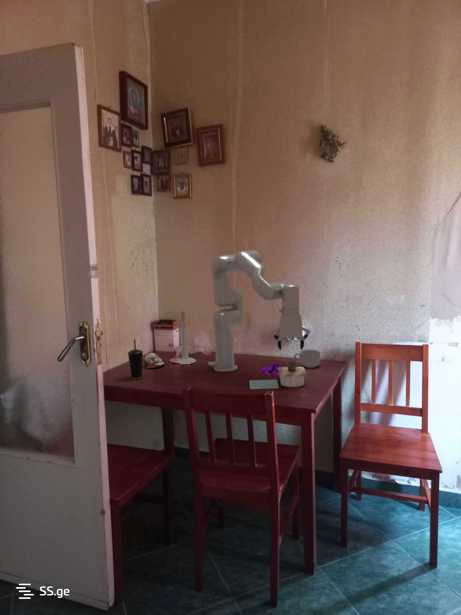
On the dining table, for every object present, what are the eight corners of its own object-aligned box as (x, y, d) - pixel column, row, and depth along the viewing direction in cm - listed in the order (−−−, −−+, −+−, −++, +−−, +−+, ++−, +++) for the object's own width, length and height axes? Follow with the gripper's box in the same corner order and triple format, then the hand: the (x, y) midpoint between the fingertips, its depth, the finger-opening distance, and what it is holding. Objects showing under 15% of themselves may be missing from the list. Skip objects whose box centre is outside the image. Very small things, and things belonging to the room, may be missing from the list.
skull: (166, 361, 262) (164, 350, 254) (164, 376, 255) (162, 366, 247) (145, 361, 262) (142, 350, 254) (142, 377, 255) (140, 366, 247)
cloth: (263, 368, 245) (262, 356, 244) (297, 370, 239) (297, 358, 238) (249, 380, 225) (249, 367, 224) (287, 382, 218) (286, 369, 217)
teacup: (319, 363, 248) (319, 349, 247) (321, 369, 237) (321, 353, 236) (293, 364, 249) (293, 349, 248) (294, 369, 238) (294, 354, 237)
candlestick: (195, 365, 254) (193, 311, 250) (172, 366, 254) (169, 312, 250) (197, 359, 267) (195, 308, 263) (175, 360, 267) (172, 308, 263)
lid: (279, 376, 205) (279, 365, 204) (277, 369, 217) (277, 359, 216) (307, 375, 205) (306, 364, 204) (303, 368, 217) (303, 358, 216)
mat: (249, 391, 206) (249, 388, 205) (249, 382, 218) (249, 380, 218) (279, 390, 205) (279, 388, 205) (276, 381, 218) (276, 379, 218)
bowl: (281, 389, 207) (281, 376, 206) (279, 382, 217) (279, 369, 216) (305, 388, 206) (305, 375, 205) (302, 381, 217) (301, 369, 216)
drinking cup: (147, 376, 234) (145, 338, 232) (139, 381, 227) (137, 341, 225) (134, 376, 237) (131, 337, 234) (126, 380, 230) (123, 340, 227)
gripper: (271, 313, 204) (272, 351, 206) (311, 312, 203) (311, 350, 206) (270, 310, 211) (271, 347, 214) (308, 310, 211) (308, 346, 213)
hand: (290, 349), depth 210 cm, fingers open, 9 cm apart
